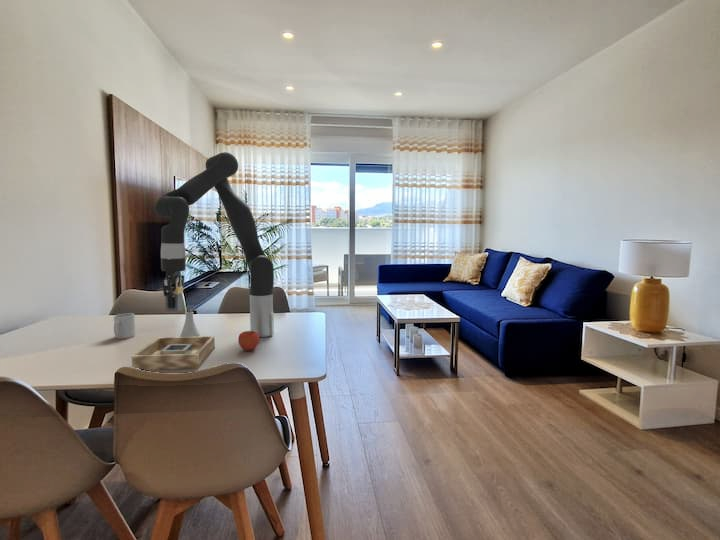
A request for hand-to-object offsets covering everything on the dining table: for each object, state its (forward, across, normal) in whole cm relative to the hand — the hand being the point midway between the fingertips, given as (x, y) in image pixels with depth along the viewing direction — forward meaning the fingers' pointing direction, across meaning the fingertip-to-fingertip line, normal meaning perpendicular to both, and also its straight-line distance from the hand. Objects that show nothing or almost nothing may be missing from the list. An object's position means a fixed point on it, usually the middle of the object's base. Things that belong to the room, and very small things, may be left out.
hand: (174, 306), depth 140 cm
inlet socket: (+18, 0, +1) cm, 18 cm away
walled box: (+18, 0, +1) cm, 18 cm away
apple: (+18, -8, +24) cm, 30 cm away
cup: (+18, -27, -30) cm, 44 cm away
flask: (+18, -28, -4) cm, 33 cm away
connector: (+1, 0, 0) cm, 1 cm away
